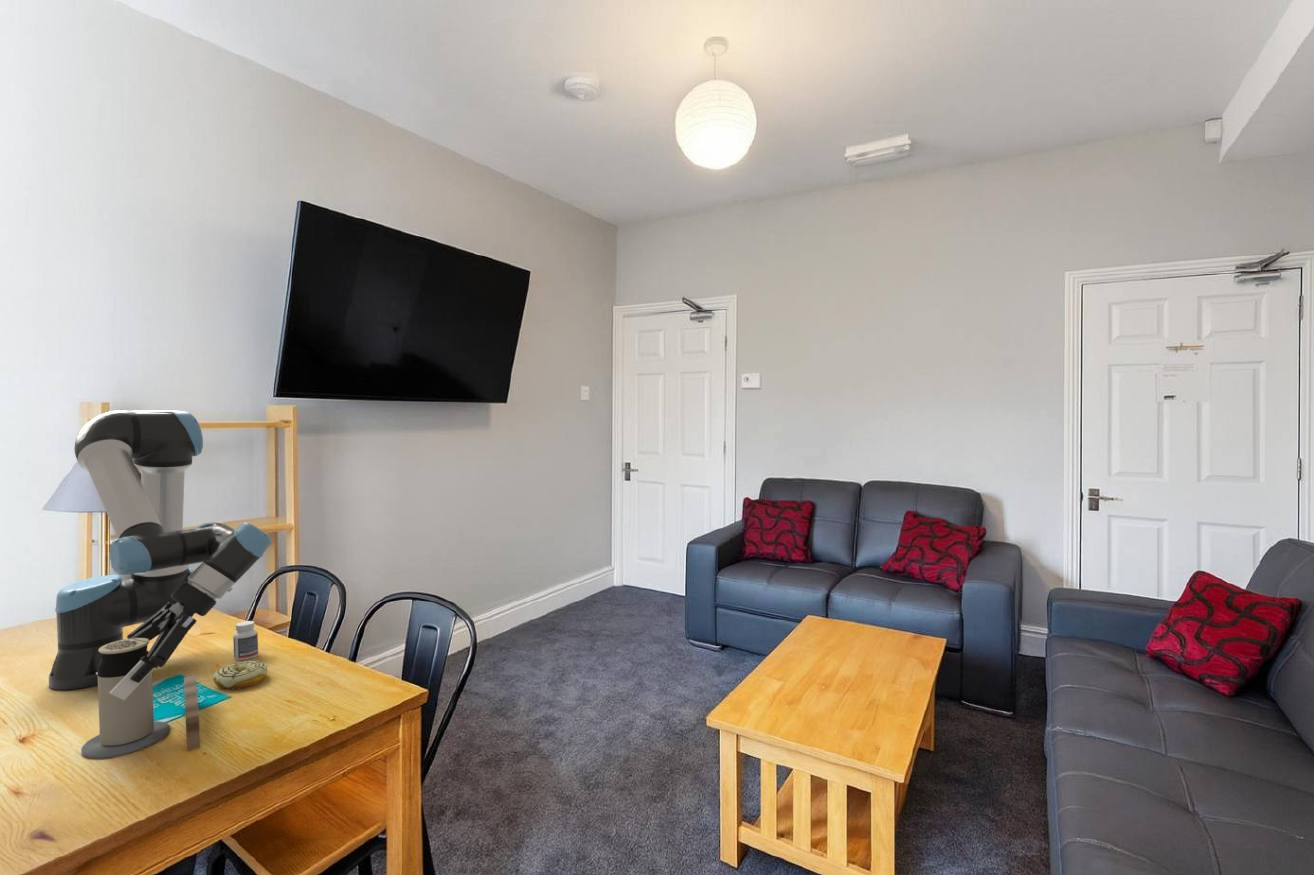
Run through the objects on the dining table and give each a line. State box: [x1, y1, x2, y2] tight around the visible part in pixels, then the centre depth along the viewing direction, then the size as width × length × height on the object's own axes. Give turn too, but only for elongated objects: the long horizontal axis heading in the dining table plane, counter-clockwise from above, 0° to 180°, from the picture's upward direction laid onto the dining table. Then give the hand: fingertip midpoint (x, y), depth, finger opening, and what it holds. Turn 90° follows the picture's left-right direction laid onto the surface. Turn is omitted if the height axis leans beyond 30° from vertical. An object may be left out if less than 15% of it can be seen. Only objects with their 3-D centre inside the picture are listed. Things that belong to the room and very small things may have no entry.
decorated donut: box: [212, 660, 268, 690], centre depth 147 cm, size 10×11×4 cm
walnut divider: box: [183, 674, 201, 751], centre depth 126 cm, size 24×2×6 cm, turn 38°
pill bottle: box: [232, 620, 259, 661], centre depth 163 cm, size 5×5×9 cm
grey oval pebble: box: [80, 720, 171, 760], centre depth 120 cm, size 13×13×1 cm
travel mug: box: [97, 638, 155, 746], centre depth 120 cm, size 8×8×18 cm
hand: (109, 686), depth 118 cm, fingers open, 13 cm apart
